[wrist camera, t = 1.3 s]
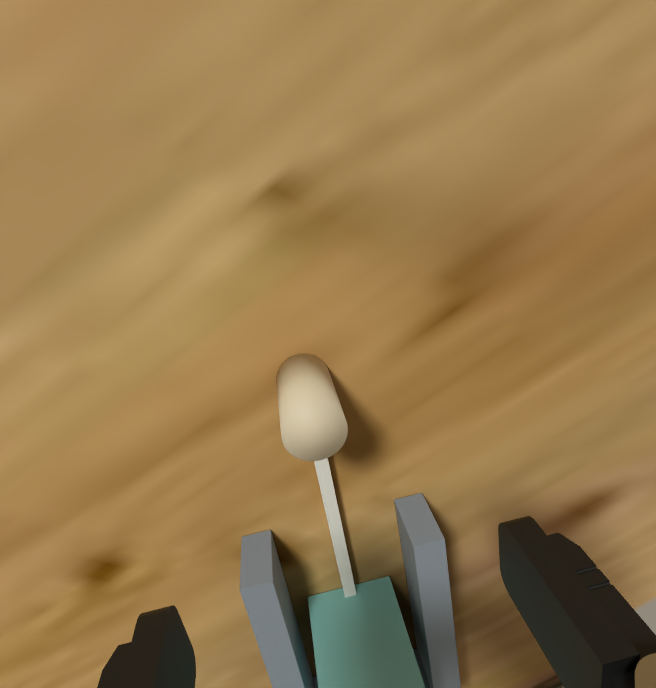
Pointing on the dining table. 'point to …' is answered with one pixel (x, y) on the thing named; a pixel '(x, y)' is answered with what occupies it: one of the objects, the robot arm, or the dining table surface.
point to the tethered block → (341, 549)
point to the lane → (424, 593)
